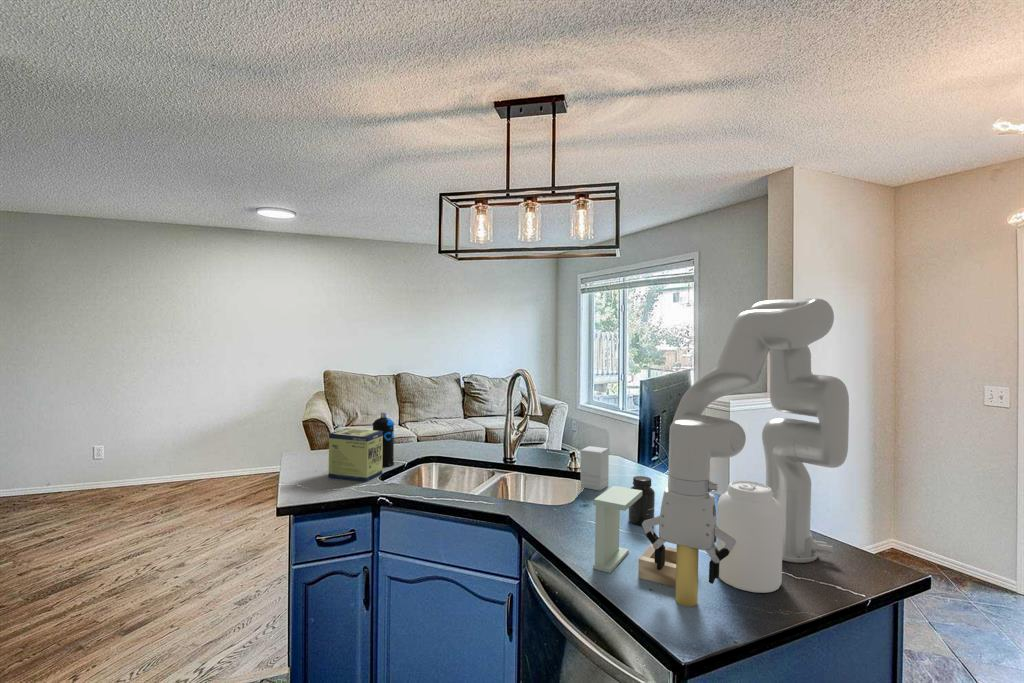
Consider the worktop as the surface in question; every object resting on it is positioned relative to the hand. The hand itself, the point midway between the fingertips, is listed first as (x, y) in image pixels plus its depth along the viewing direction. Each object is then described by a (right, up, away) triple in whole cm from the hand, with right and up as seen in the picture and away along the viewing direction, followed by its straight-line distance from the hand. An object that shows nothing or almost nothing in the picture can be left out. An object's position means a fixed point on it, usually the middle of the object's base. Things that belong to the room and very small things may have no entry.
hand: (685, 574), depth 99 cm
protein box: (-88, -3, +82) cm, 120 cm away
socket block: (0, -5, +11) cm, 12 cm away
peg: (0, -5, 0) cm, 5 cm away
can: (+16, -6, +9) cm, 20 cm away
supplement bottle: (+2, -5, +41) cm, 42 cm away
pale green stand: (-10, -5, +17) cm, 20 cm away
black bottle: (-82, -2, +97) cm, 128 cm away
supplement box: (-6, -4, +73) cm, 73 cm away
